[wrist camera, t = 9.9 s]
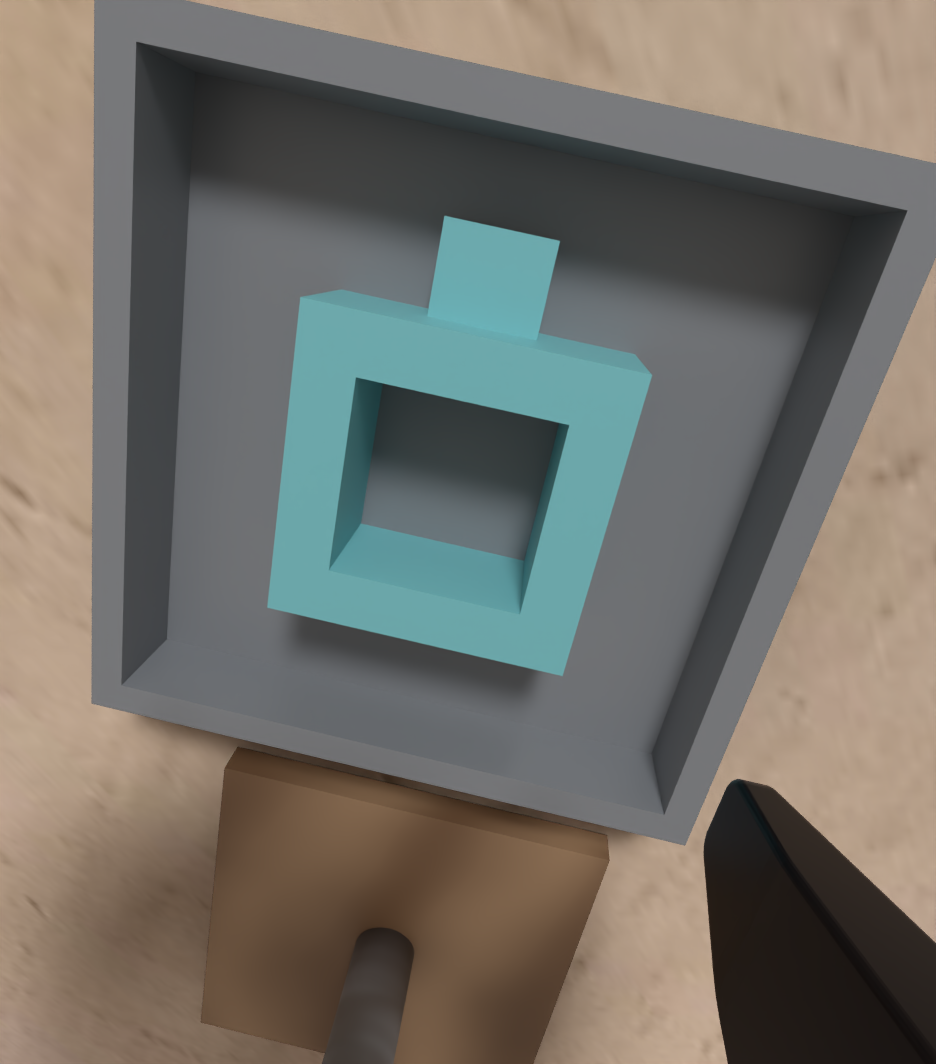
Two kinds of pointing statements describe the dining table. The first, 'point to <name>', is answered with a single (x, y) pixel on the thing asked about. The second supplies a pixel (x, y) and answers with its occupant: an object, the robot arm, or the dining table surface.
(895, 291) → the tray
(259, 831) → the peg base
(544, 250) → the collar
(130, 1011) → the dining table surface
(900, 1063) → the robot arm
